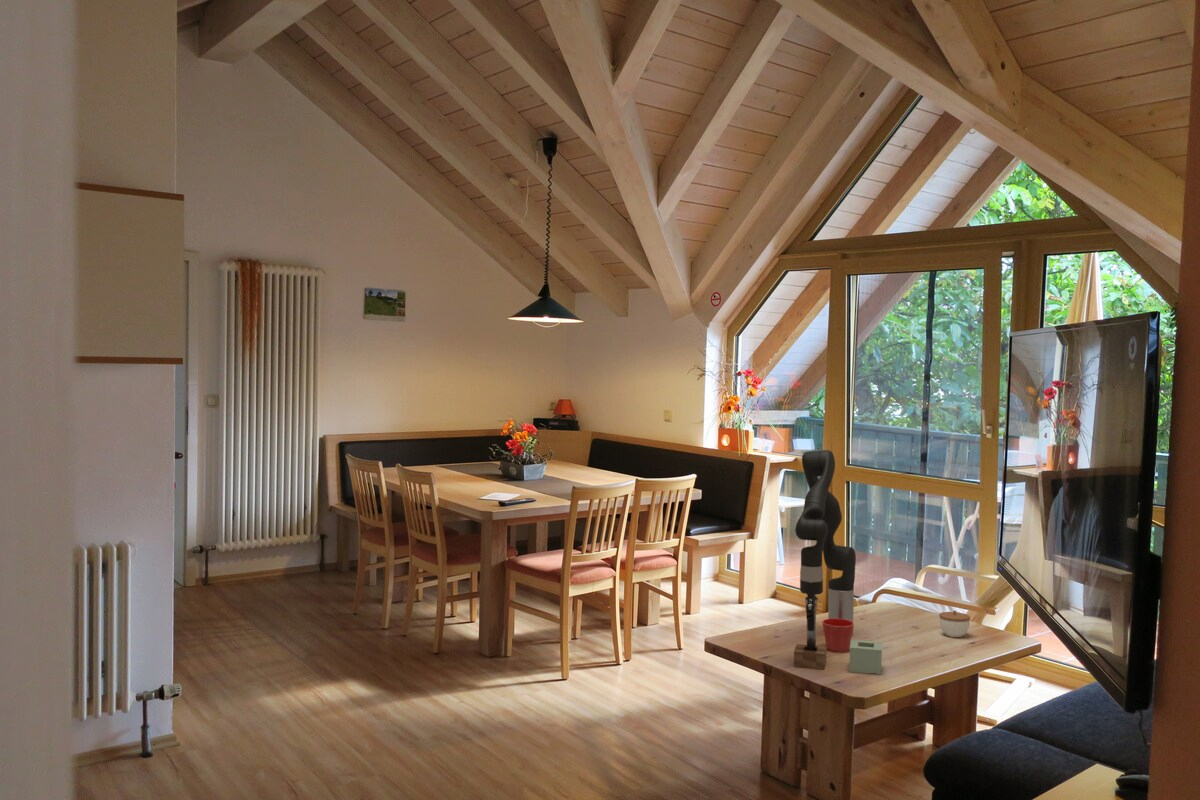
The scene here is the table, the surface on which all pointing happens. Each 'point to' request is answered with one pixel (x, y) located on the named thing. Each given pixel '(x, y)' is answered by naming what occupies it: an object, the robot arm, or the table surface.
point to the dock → (865, 656)
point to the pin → (811, 636)
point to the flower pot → (838, 634)
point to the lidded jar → (954, 623)
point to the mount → (810, 657)
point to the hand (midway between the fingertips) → (811, 629)
